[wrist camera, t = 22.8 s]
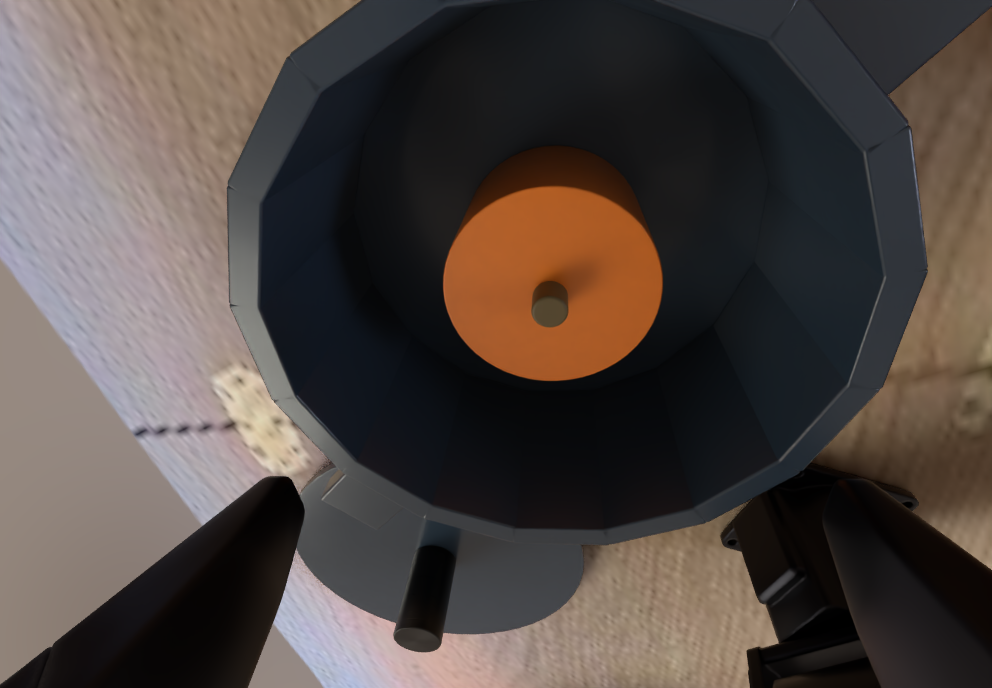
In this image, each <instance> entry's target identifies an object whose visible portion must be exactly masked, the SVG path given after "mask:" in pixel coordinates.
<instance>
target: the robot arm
mask: <svg viewBox="0 0 992 688" xmlns="http://www.w3.org/2000/svg"><path fill="white" fill-rule="evenodd" d="M918 504H919V502H918V500H917V499H916V498H915V496H914V495H913V493H911V492H909V491H906V490H902V489H899V488H895V487H892V486H888V485H885V484H881V483H878V482H874V481H871V480H867V479H864V478H860V477H857V476H854V475H850V474H847V473H843V472H840V471H836V470H833V469H829V468H826V467H822V466H819V465H815V464H812V463H810V464H809V465H808V466H807V467H806V468H805V469H804V470H803V471H800V473H799V474H797V475H795V476H793V477H792V478H790V479H788V480H786V481H784V482H782V483H780V484H778V485H777V486H775V487H773V488H771V489H769V490H767V491H765V492H763V493H762V494H760V495H758V496H756V497H754V498H753V499H752V500H751V501H750V502H749V503H748V504H747V506H746V507H745V508H744V509H743V510H742V511H741V512H740V513H739V514H738V515H737V517H736V518H735V519H734V520H733V521H732V522H731V523H730V524H729V525H728V527H727V528H726V529H725V530H724V531H723V532H722V533H721V535H720V537H721V541H722V544H723V545H724V546H725V547H727V548H730V549H734V550H737V551H741V552H742V554H743V557H744V560H745V563H746V566H747V569H748V572H749V575H750V578H751V581H752V584H753V587H754V590H755V593H756V596H757V598H758V600H759V602H760V603H762V604H766V607H767V609H768V612H769V615H770V618H771V621H772V624H773V627H774V630H775V633H776V636H777V638H778V641H779V644H775V645H772V646H768V647H765V648H760V647H755V648H752V649H748V650H747V658H748V666H749V670H748V675H749V683H750V688H992V570H991V569H989V568H988V567H987V566H985V565H984V564H983V563H981V562H980V561H979V560H977V559H976V558H975V557H973V556H972V555H971V554H969V553H968V552H966V551H965V550H964V549H962V548H961V547H960V546H958V545H957V544H956V543H954V542H953V541H952V540H950V539H949V538H947V537H946V536H945V535H943V534H942V533H941V532H939V531H938V530H937V529H935V528H934V527H933V526H931V525H930V524H928V523H927V522H926V521H924V520H923V519H922V518H920V517H919V516H918V515H916V514H915V513H914V512H912V511H913V510H914V509H915V508H916V507H917V506H918ZM304 517H305V509H304V504H303V502H302V500H301V498H300V496H299V494H298V492H297V490H296V488H295V486H294V483H293V481H292V480H291V479H290V478H289V477H286V476H269V477H265V478H263V479H262V480H260V481H259V482H258V483H257V484H255V485H254V486H253V487H252V488H250V489H249V490H248V491H246V492H245V493H244V494H243V495H241V496H240V497H239V498H238V499H236V500H235V501H234V502H232V503H231V504H230V505H229V506H227V507H226V508H225V509H224V510H222V511H221V512H220V513H218V514H217V515H216V516H215V517H213V518H212V519H211V520H210V521H208V522H207V523H206V524H205V525H203V526H202V527H201V528H200V529H198V530H197V531H196V532H194V533H193V534H192V535H191V536H189V537H188V538H187V539H185V540H184V541H183V542H182V543H180V544H179V545H178V546H177V547H175V548H174V549H173V550H172V551H170V552H169V553H168V554H166V555H165V556H164V557H163V558H161V559H160V560H159V561H158V562H156V563H155V564H154V565H152V566H151V567H150V568H149V569H147V570H146V571H145V572H144V573H142V574H141V575H140V576H138V577H137V578H136V579H135V580H133V581H132V582H131V583H130V584H128V585H127V586H126V587H124V588H123V589H122V590H121V591H119V592H118V593H117V594H116V595H114V596H113V597H112V598H110V599H109V600H108V601H107V602H106V603H104V604H103V605H102V606H100V607H99V608H98V609H97V610H96V611H94V612H93V613H91V614H90V615H89V616H88V617H87V618H85V619H84V620H83V621H81V622H80V623H79V624H77V625H76V626H75V627H74V628H72V629H71V630H70V631H69V632H67V633H66V634H65V635H63V636H62V637H61V638H60V639H58V640H57V641H56V642H55V643H54V644H53V646H52V647H49V648H47V649H45V650H44V651H43V652H42V653H40V654H39V655H38V656H37V657H35V658H34V659H33V660H31V661H30V662H29V663H28V664H26V665H25V666H24V667H23V668H21V669H20V670H19V671H17V672H16V673H15V674H14V675H12V676H11V677H10V678H8V679H7V680H6V681H4V682H3V683H2V684H0V688H248V686H249V683H250V681H251V678H252V675H253V673H254V670H255V668H256V665H257V663H258V660H259V657H260V655H261V652H262V650H263V647H264V645H265V642H266V639H267V637H268V634H269V632H270V629H271V627H272V624H273V621H274V619H275V616H276V614H277V611H278V608H279V605H280V603H281V599H282V596H283V593H284V590H285V586H286V583H287V579H288V575H289V572H290V568H291V565H292V561H293V558H294V554H295V550H296V547H297V543H298V540H299V536H300V533H301V529H302V525H303V522H304Z"/></svg>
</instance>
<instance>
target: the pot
mask: <svg viewBox="0 0 992 688" xmlns="http://www.w3.org/2000/svg"><path fill="white" fill-rule="evenodd" d="M991 7H992V0H361V1H360V2H358V3H357V4H356V5H354V6H353V7H352V8H350V9H349V10H348V11H346V12H345V13H344V14H342V15H341V16H340V17H338V18H337V19H336V20H334V21H333V22H332V23H330V24H329V25H328V26H326V27H325V28H323V29H322V30H321V31H319V32H318V33H317V34H315V35H314V36H313V37H311V38H310V39H309V40H307V41H306V42H305V43H303V44H302V45H301V46H299V47H298V48H297V49H295V50H294V51H293V52H291V54H290V56H288V57H287V58H286V60H285V62H284V64H283V67H282V69H281V71H280V73H279V75H278V77H277V79H276V81H275V83H274V86H273V88H272V90H271V92H270V94H269V96H268V98H267V100H266V102H265V104H264V107H263V109H262V111H261V113H260V115H259V117H258V119H257V121H256V123H255V126H254V128H253V130H252V132H251V134H250V136H249V138H248V140H247V142H246V145H245V147H244V149H243V151H242V153H241V155H240V157H239V159H238V161H237V164H236V166H235V168H234V170H233V172H232V174H231V176H230V178H229V180H228V187H227V215H228V265H229V303H230V308H231V310H232V312H233V314H234V317H235V319H236V321H237V323H238V325H239V328H240V330H241V332H242V334H243V336H244V339H245V341H246V343H247V345H248V347H249V350H250V352H251V354H252V356H253V359H254V361H255V363H256V365H257V367H258V370H259V372H260V374H261V376H262V378H263V381H264V383H265V385H266V387H267V389H268V392H269V394H270V396H271V398H272V400H274V402H275V403H276V404H277V405H278V406H279V408H280V409H281V410H282V411H283V412H284V413H285V414H286V415H287V416H288V417H289V418H290V419H291V420H292V421H293V422H294V423H295V424H296V425H297V426H298V427H299V428H300V429H301V430H302V431H303V433H304V434H305V435H306V436H307V437H308V438H309V439H310V440H311V441H312V442H313V443H314V444H315V445H316V446H317V447H318V448H319V449H320V450H321V451H322V452H323V453H324V454H325V455H326V457H327V458H328V459H329V460H330V461H331V462H332V463H333V464H334V465H335V466H336V467H337V468H338V469H339V470H338V471H337V472H336V473H335V474H334V475H333V476H332V477H331V478H330V480H329V482H328V484H327V486H326V488H325V490H324V492H323V494H322V496H321V499H322V500H323V501H325V502H326V503H328V504H330V505H332V506H334V507H336V508H337V509H339V510H341V511H343V512H345V513H347V514H348V515H350V516H352V517H354V518H356V519H358V520H359V521H361V522H363V523H365V524H367V525H369V526H370V527H372V528H374V529H376V530H378V529H379V528H381V527H382V526H383V525H384V524H385V523H386V522H388V521H389V520H390V519H391V518H392V517H394V516H395V515H396V514H397V513H398V512H399V511H401V510H402V509H403V508H405V509H407V510H409V511H410V512H412V513H414V514H416V515H417V516H419V517H421V518H423V517H424V518H425V519H428V520H432V521H435V522H439V523H443V524H446V525H450V526H454V527H457V528H461V529H465V530H469V531H472V532H476V533H480V534H483V535H487V536H491V537H494V538H498V539H502V540H506V541H509V542H514V543H532V544H576V545H609V544H615V543H620V542H624V541H629V540H633V539H638V538H642V537H647V536H651V535H655V534H660V533H664V532H669V531H673V530H678V529H682V528H686V527H691V526H695V525H700V524H704V523H706V522H709V521H711V520H713V519H715V518H717V517H718V516H720V515H722V514H724V513H726V512H728V511H730V510H732V509H733V508H735V507H737V506H739V505H741V504H743V503H745V502H747V501H748V500H750V499H752V498H754V497H756V496H758V495H760V494H762V493H763V492H765V491H767V490H769V489H771V488H773V487H775V486H777V485H778V484H780V483H782V482H784V481H786V480H788V479H790V478H792V477H793V476H795V475H797V474H799V473H800V471H803V470H804V469H805V468H806V467H807V466H808V465H809V464H810V462H811V461H812V460H813V459H814V458H815V457H816V456H817V455H818V454H819V453H820V452H821V451H822V450H823V449H824V448H825V447H826V446H827V445H828V444H829V443H830V442H831V441H832V440H833V439H834V437H835V436H836V435H837V434H838V433H839V432H840V431H841V430H842V429H843V428H844V427H845V426H846V425H847V424H848V423H849V422H850V421H851V420H852V419H853V418H854V417H855V416H856V415H857V414H858V412H859V411H860V410H861V409H862V408H863V407H864V406H865V405H866V404H867V403H868V402H869V401H870V400H871V399H872V398H873V397H874V396H875V395H876V394H877V393H878V392H879V390H880V389H881V388H882V387H883V385H884V382H885V380H886V377H887V375H888V372H889V370H890V367H891V365H892V362H893V359H894V357H895V354H896V352H897V349H898V347H899V344H900V341H901V339H902V336H903V334H904V331H905V329H906V326H907V324H908V321H909V318H910V316H911V313H912V311H913V308H914V306H915V303H916V301H917V298H918V295H919V293H920V290H921V288H922V285H923V283H924V280H925V277H926V275H927V272H928V270H927V267H928V265H927V256H926V248H925V239H924V231H923V223H922V214H921V206H920V197H919V189H918V180H917V172H916V164H915V155H914V147H913V138H912V130H911V127H910V126H909V125H908V120H907V119H906V118H905V116H904V115H903V114H902V113H901V111H900V110H899V109H898V107H897V106H896V105H895V104H894V102H893V101H892V100H891V99H890V97H889V96H888V95H889V94H890V93H891V92H892V91H893V90H895V89H896V88H897V87H898V86H899V85H900V84H902V83H903V82H904V81H905V80H906V79H907V78H909V77H910V76H911V75H912V74H913V73H915V72H916V71H917V70H918V69H919V68H920V67H922V66H923V65H924V64H925V63H926V62H927V61H929V60H930V59H931V58H932V57H933V56H934V55H936V54H937V53H938V52H939V51H940V50H942V49H943V48H944V47H945V46H946V45H947V44H949V43H950V42H951V41H952V40H953V39H954V38H956V37H957V36H958V35H959V34H960V33H961V32H963V31H964V30H965V29H966V28H967V27H969V26H970V25H971V24H972V23H973V22H974V21H976V20H977V19H978V18H979V17H980V16H981V15H983V14H984V13H985V12H986V11H987V10H988V9H990V8H991ZM543 146H568V147H574V148H578V149H582V150H585V151H588V152H590V153H593V154H595V155H597V156H599V157H600V158H602V159H604V160H606V161H607V162H608V163H610V164H611V165H612V166H613V167H615V168H616V169H617V170H618V171H619V172H620V173H621V174H622V175H623V176H624V178H625V179H626V181H627V182H628V183H629V185H630V186H631V188H632V190H633V192H634V194H635V196H636V198H637V201H638V203H639V206H640V208H641V211H642V213H643V216H644V218H645V221H646V223H647V226H648V228H649V231H650V233H651V236H652V238H653V241H654V243H655V246H656V248H657V251H658V254H659V257H660V261H661V266H662V272H663V292H662V299H661V303H660V307H659V310H658V313H657V316H656V318H655V320H654V322H653V324H652V326H651V328H650V329H649V331H648V332H647V334H646V335H645V337H644V338H643V339H642V340H641V342H640V343H639V344H638V345H637V346H636V347H635V348H634V349H633V350H632V351H631V352H630V353H629V354H628V355H626V356H625V357H624V358H622V359H621V360H620V361H618V362H617V363H615V364H613V365H611V366H610V367H608V368H606V369H604V370H601V371H599V372H597V373H594V374H591V375H588V376H585V377H581V378H576V379H571V380H561V381H542V380H534V379H528V378H524V377H520V376H516V375H513V374H511V373H508V372H505V371H503V370H501V369H499V368H497V367H495V366H493V365H492V364H490V363H488V362H487V361H485V360H484V359H482V358H481V357H480V356H479V355H477V354H476V353H475V352H474V351H473V350H472V349H471V348H470V347H469V346H468V345H467V344H466V343H465V342H464V340H463V339H462V338H461V336H460V335H459V334H458V332H457V330H456V329H455V327H454V325H453V323H452V321H451V319H450V316H449V314H448V311H447V308H446V304H445V300H444V292H443V274H444V268H445V262H446V259H447V256H448V253H449V250H450V248H451V246H452V243H453V241H454V239H455V237H456V234H457V232H458V230H459V227H460V225H461V223H462V221H463V218H464V216H465V214H466V212H467V209H468V207H469V205H470V203H471V200H472V198H473V196H474V194H475V192H476V190H477V189H478V187H479V186H480V184H481V183H482V181H483V180H484V179H485V178H486V177H487V176H488V174H489V173H490V172H491V171H492V170H493V169H495V168H496V167H497V166H498V165H499V164H501V163H502V162H504V161H505V160H507V159H508V158H510V157H512V156H514V155H516V154H518V153H520V152H523V151H526V150H529V149H533V148H538V147H543Z"/></svg>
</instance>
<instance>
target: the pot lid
mask: <svg viewBox="0 0 992 688" xmlns="http://www.w3.org/2000/svg"><path fill="white" fill-rule="evenodd" d="M338 470H339V469H338V468H337V467H336V466H335V465H334V464H333V463H332V464H330V465H329V466H327V467H326V468H324V469H322V470H321V471H319V472H318V473H317V474H316V475H315V476H314V477H313V478H312V479H311V480H309V482H308V483H307V484H306V486H305V487H304V488H303V490H302V491H301V493H300V495H299V496H300V498H301V500H302V502H303V504H304V509H305V517H304V522H303V525H302V529H301V533H300V536H299V540H298V543H297V547H296V548H297V551H298V553H299V555H300V557H301V558H302V560H303V561H304V563H305V564H306V566H307V567H308V568H309V569H310V571H311V572H312V573H313V574H314V575H315V576H316V577H317V578H318V579H319V580H320V581H321V582H322V583H323V584H324V585H325V586H326V587H328V588H329V589H330V590H332V591H333V592H334V593H335V594H337V595H338V596H340V597H341V598H343V599H344V600H346V601H348V602H349V603H351V604H353V605H355V606H357V607H358V608H360V609H362V610H364V611H366V612H369V613H371V614H373V615H375V616H378V617H380V618H383V619H386V620H389V621H391V622H395V623H396V627H395V630H394V634H393V636H394V640H395V641H396V642H397V643H398V644H399V645H400V646H402V647H404V648H406V649H408V650H411V651H416V652H431V651H435V650H437V649H438V648H439V647H440V646H441V642H442V637H443V633H452V634H486V633H495V632H503V631H508V630H512V629H517V628H521V627H524V626H527V625H530V624H533V623H535V622H537V621H540V620H542V619H544V618H546V617H548V616H549V615H551V614H553V613H554V612H556V611H557V610H558V609H560V608H561V607H562V606H563V605H564V604H566V603H567V601H568V600H569V599H570V598H571V597H572V596H573V595H574V593H575V591H576V589H577V588H578V586H579V584H580V581H581V578H582V575H583V568H584V553H583V545H576V544H532V543H514V542H509V541H506V540H502V539H498V538H494V537H491V536H487V535H483V534H480V533H476V532H472V531H469V530H465V529H461V528H457V527H454V526H450V525H446V524H443V523H439V522H435V521H432V520H428V519H425V518H424V517H423V518H421V517H419V516H417V515H416V514H414V513H412V512H410V511H409V510H407V509H405V508H403V509H402V510H401V511H399V512H398V513H397V514H396V515H395V516H394V517H392V518H391V519H390V520H389V521H388V522H386V523H385V524H384V525H383V526H382V527H381V528H379V529H378V530H376V529H374V528H372V527H370V526H369V525H367V524H365V523H363V522H361V521H359V520H358V519H356V518H354V517H352V516H350V515H348V514H347V513H345V512H343V511H341V510H339V509H337V508H336V507H334V506H332V505H330V504H328V503H326V502H325V501H323V500H322V499H321V496H322V494H323V492H324V490H325V488H326V486H327V484H328V482H329V480H330V478H331V477H332V476H333V475H334V474H335V473H336V472H337V471H338Z"/></svg>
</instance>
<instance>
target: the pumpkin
mask: <svg viewBox="0 0 992 688" xmlns="http://www.w3.org/2000/svg"><path fill="white" fill-rule="evenodd" d="M443 292H444V300H445V304H446V308H447V311H448V314H449V316H450V319H451V321H452V323H453V325H454V327H455V329H456V330H457V332H458V334H459V335H460V336H461V338H462V339H463V340H464V342H465V343H466V344H467V345H468V346H469V347H470V348H471V349H472V350H473V351H474V352H475V353H476V354H477V355H479V356H480V357H481V358H482V359H484V360H485V361H487V362H488V363H490V364H492V365H493V366H495V367H497V368H499V369H501V370H503V371H505V372H508V373H511V374H513V375H516V376H520V377H524V378H528V379H534V380H542V381H561V380H571V379H576V378H581V377H585V376H588V375H591V374H594V373H597V372H599V371H601V370H604V369H606V368H608V367H610V366H611V365H613V364H615V363H617V362H618V361H620V360H621V359H622V358H624V357H625V356H626V355H628V354H629V353H630V352H631V351H632V350H633V349H634V348H635V347H636V346H637V345H638V344H639V343H640V342H641V340H642V339H643V338H644V337H645V335H646V334H647V332H648V331H649V329H650V328H651V326H652V324H653V322H654V320H655V318H656V316H657V313H658V310H659V307H660V303H661V299H662V292H663V272H662V266H661V261H660V257H659V254H658V251H657V248H656V246H655V243H654V241H653V238H652V236H651V233H650V231H649V228H648V226H647V223H646V221H645V218H644V216H643V213H642V211H641V208H640V206H639V203H638V201H637V198H636V196H635V194H634V192H633V190H632V188H631V186H630V185H629V183H628V182H627V181H626V179H625V178H624V176H623V175H622V174H621V173H620V172H619V171H618V170H617V169H616V168H615V167H613V166H612V165H611V164H610V163H608V162H607V161H606V160H604V159H602V158H600V157H599V156H597V155H595V154H593V153H590V152H588V151H585V150H582V149H578V148H574V147H568V146H543V147H538V148H533V149H529V150H526V151H523V152H520V153H518V154H516V155H514V156H512V157H510V158H508V159H507V160H505V161H504V162H502V163H501V164H499V165H498V166H497V167H496V168H495V169H493V170H492V171H491V172H490V173H489V174H488V176H487V177H486V178H485V179H484V180H483V181H482V183H481V184H480V186H479V187H478V189H477V190H476V192H475V194H474V196H473V198H472V200H471V203H470V205H469V207H468V209H467V212H466V214H465V216H464V218H463V221H462V223H461V225H460V227H459V230H458V232H457V234H456V237H455V239H454V241H453V243H452V246H451V248H450V250H449V253H448V256H447V259H446V262H445V268H444V274H443Z"/></svg>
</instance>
